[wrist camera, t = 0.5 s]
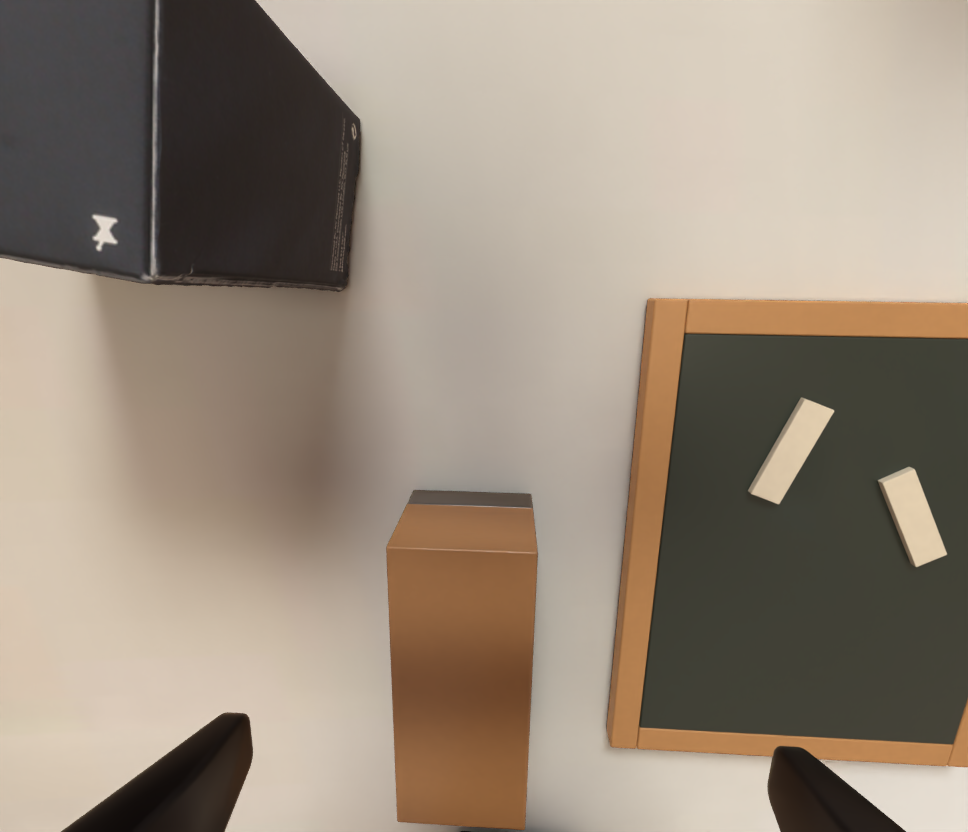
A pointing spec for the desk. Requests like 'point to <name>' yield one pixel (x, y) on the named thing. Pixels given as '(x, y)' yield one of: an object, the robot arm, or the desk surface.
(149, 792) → the robot arm
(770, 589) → the chalkboard
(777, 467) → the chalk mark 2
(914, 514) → the cream rectangular block
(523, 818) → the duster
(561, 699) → the desk surface
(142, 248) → the small box
